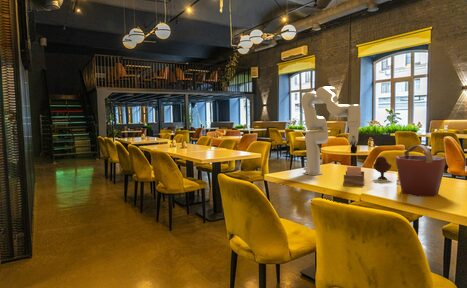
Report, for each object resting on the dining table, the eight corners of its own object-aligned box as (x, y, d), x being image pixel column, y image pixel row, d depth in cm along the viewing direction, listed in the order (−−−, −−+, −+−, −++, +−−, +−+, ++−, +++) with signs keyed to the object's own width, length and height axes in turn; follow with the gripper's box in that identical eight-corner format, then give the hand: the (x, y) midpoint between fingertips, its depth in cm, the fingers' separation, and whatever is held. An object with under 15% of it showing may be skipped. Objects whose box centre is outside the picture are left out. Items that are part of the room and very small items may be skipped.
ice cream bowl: (392, 180, 204) (393, 156, 203) (373, 180, 208) (373, 156, 207) (390, 177, 214) (390, 155, 213) (372, 177, 218) (372, 155, 217)
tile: (347, 180, 203) (347, 166, 203) (361, 180, 200) (360, 166, 200) (347, 181, 201) (347, 166, 200) (361, 181, 198) (360, 167, 197)
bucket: (394, 187, 184) (394, 143, 183) (439, 189, 176) (439, 143, 174) (399, 196, 161) (399, 147, 160) (451, 199, 153) (451, 147, 152)
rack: (345, 179, 211) (345, 170, 210) (364, 180, 206) (364, 171, 206) (342, 184, 195) (342, 175, 195) (364, 185, 190) (364, 175, 190)
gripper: (348, 124, 208) (348, 151, 209) (346, 125, 192) (346, 153, 193) (360, 124, 205) (360, 151, 206) (360, 125, 189) (359, 154, 190)
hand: (353, 152), depth 200 cm, fingers open, 9 cm apart
